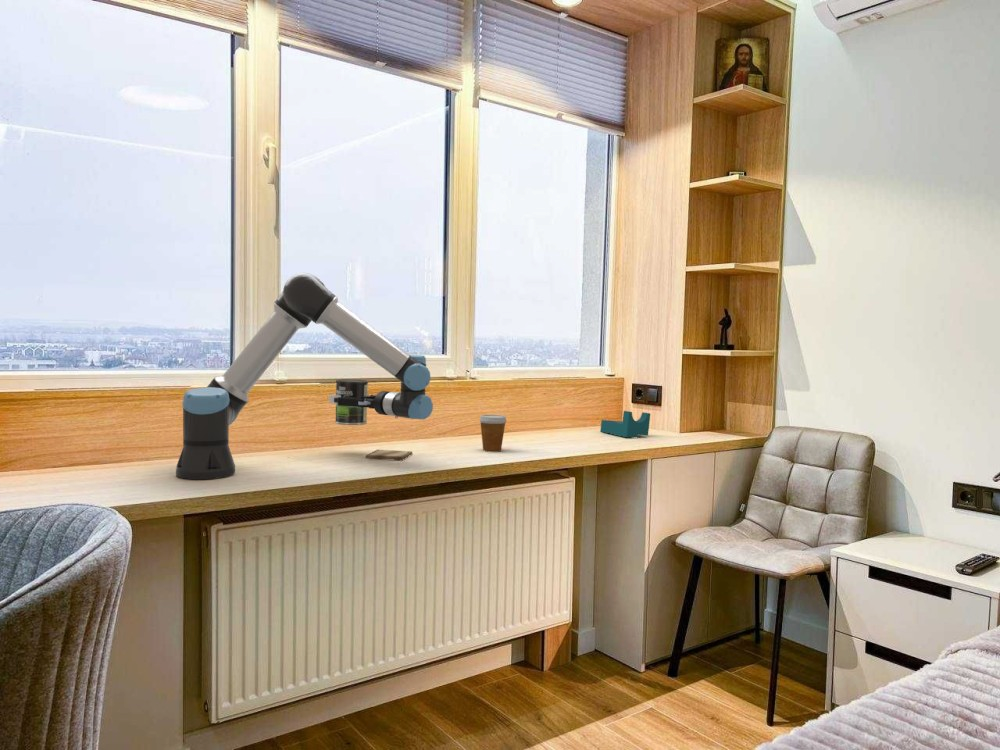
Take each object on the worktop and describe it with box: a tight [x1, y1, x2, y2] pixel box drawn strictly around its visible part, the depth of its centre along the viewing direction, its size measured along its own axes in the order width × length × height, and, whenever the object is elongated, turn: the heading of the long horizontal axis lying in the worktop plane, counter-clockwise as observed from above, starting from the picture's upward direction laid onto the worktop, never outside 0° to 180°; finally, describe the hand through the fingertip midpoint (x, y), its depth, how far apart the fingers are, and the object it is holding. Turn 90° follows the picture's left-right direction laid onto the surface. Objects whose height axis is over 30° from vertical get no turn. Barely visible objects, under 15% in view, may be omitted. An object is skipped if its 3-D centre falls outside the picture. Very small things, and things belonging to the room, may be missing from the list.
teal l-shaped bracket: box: [599, 410, 651, 438], centre depth 309 cm, size 18×11×10 cm, turn 28°
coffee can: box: [334, 379, 369, 426], centre depth 245 cm, size 10×10×14 cm
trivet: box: [365, 449, 413, 461], centre depth 242 cm, size 12×12×1 cm
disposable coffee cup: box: [478, 414, 508, 452], centre depth 260 cm, size 10×10×12 cm
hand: (343, 397), depth 247 cm, fingers closed on coffee can, 10 cm apart
